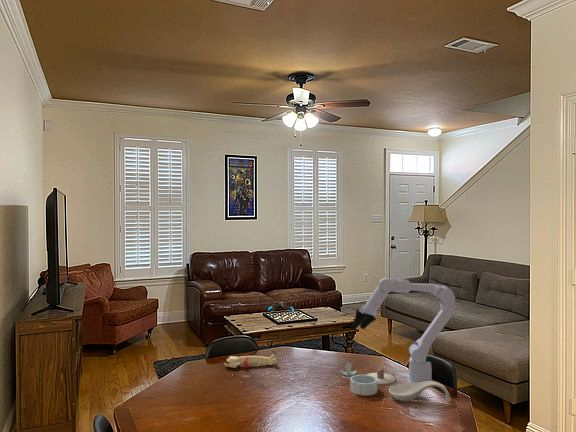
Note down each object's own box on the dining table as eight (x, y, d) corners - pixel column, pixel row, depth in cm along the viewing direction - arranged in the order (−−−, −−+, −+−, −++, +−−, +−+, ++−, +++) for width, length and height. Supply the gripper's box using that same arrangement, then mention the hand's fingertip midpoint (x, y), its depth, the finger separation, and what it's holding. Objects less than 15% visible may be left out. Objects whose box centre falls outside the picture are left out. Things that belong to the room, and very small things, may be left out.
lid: (393, 374, 212) (393, 365, 212) (397, 384, 200) (397, 375, 200) (364, 373, 214) (364, 364, 214) (366, 383, 201) (366, 374, 201)
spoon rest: (390, 404, 181) (390, 386, 181) (387, 392, 193) (387, 375, 193) (453, 407, 179) (453, 388, 179) (446, 395, 190) (446, 377, 190)
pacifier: (357, 379, 208) (356, 374, 214) (357, 365, 208) (356, 361, 214) (340, 379, 208) (340, 374, 214) (340, 365, 208) (340, 360, 214)
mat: (394, 375, 213) (394, 374, 213) (398, 386, 199) (398, 385, 199) (363, 373, 215) (363, 372, 215) (365, 385, 201) (365, 383, 201)
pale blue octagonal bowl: (376, 386, 199) (376, 375, 199) (378, 397, 188) (378, 384, 188) (350, 385, 200) (350, 374, 200) (350, 395, 189) (350, 383, 189)
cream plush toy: (274, 364, 233) (224, 362, 229) (275, 346, 233) (225, 345, 229) (277, 371, 223) (224, 369, 219) (278, 352, 223) (226, 350, 219)
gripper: (374, 298, 215) (358, 323, 216) (361, 294, 203) (344, 320, 204) (386, 307, 211) (369, 332, 212) (373, 304, 199) (356, 330, 200)
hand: (358, 327), depth 208 cm, fingers open, 7 cm apart
